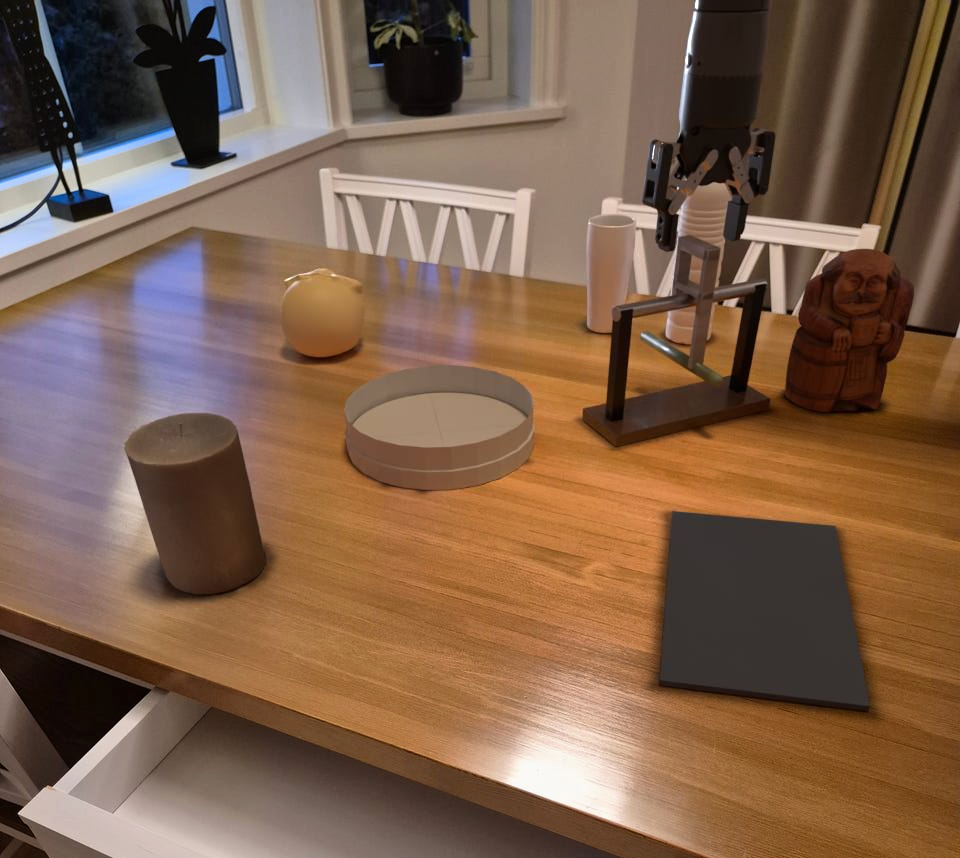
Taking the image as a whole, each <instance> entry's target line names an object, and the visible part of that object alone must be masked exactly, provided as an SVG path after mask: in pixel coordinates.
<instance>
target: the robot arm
mask: <svg viewBox="0 0 960 858" xmlns="http://www.w3.org/2000/svg"><path fill="white" fill-rule="evenodd" d="M772 2H773V0H694V3H693V10H692V16H691V21H690V25H689V31H688V34H687V40H686V47H685V57H684V65H683V73H682V75H683V76H682V83H681V93H680V100H679V108H678V109H679V111H678V121H679V126H680V127H679V128H680V129H679V134H678V136H677V138H676V140H675V141H663V140H660V139H658V138H657V139H653V140H652V141H650V144H649V149H648V156H647V161H646V169H645V177H644V184H643V191H642V198H641V202H642V204H643V205H645V206H647V207H650V208H652V209H655V210H656V211H657V217H656V229H655V237H654V241H655V244H657V246H658V249H660V250H661V251H664V252H665V253H669V252H674V251H675V250H676V244H677V236H678V228H679V219H680V213H679V214H678V212H679V210H681V206H682V204H683V202H684V201H685V199H686V198H687V197H688V196H690V195H692V194H693V193H694V191H695V190H696V188H697V186H698V185H699V186H706V185H709V184H711V183H713V182H715V183H719V184H721V183H724V184H725V185H726V187H727V189H728V192H729V194H730V196H731V198H732V200H731V201H728V205H727V211H726V218H725V224H724V231H723V236H724V238H725V240H728V241H730V242H738V241H740V240H741V237H742V235H743V234H744V232H745V229H746V223H747V217H748V211H749V206H750V203H752V201H753V200H754V198H756V197H758V196H764V195H767V193H768V190H769V186H770V180H771V172H772V165H773V157H774V151H775V143H776V133H775V131H770V130H769V129H765V128H759V127H755V128H753V130H752V131H751V125H752V124H753V123H754V122H755V121H756V118H757V112H758V106H759V100H760V94H761V88H762V83H763V82H762V81H763V75H764V71H765V63H766V57H767V50H768V45H769V35H770V21H771V20H770V17H771V8H772ZM747 153H748V156H747V165H746V166H745V164H744V161H743V159H744V157H745V155H746V154H747ZM675 158H676V159H677V161H678V162H677V163H676V159H675ZM675 163H676V165H675ZM672 165H675V167H674V168H673V170H672V171H671V167H672ZM684 177H685V180H683V179H684ZM686 179H687V180H686Z"/></svg>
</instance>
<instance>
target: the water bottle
mask: <svg viewBox="0 0 960 858" xmlns="http://www.w3.org/2000/svg"><path fill="white" fill-rule="evenodd" d="M685 180H687V179H686V178H685ZM728 201H732V198H731V196H730V194H729V192H728V189H727V187H726V185H725V184H724V183H721V184H719V183H715V182H713V183H711V184H709V185H706V186H699V185H698V186H697V188H696V190H695V191H694V193H693V194H692V195H690V196H688V197H687V198H686V199H685V201H684V202H683V204H682V206H681V207H680V212H679V218H678V230H677V236H676V244H675V250H674V251H675V252H674V263H673V266H672V267H673V269H672V279H671V286H670V293H669V296H672V288H673V279H674V271H675V263H676V255H677V245H678V237H682V236H688V235H691V236H694V237H696V238H698V239H701V240H703V241H705V242H708V243H710V244H712V245H714V246H717V247H719V248H721V251H720V257H719V263H718V269H717V276H716V282H715V287H719V285H720V280H719V279H720V277H721V272H722V262H723V260H724V251H725V243H726V239H725V238H724V236H723V231H724V224H725V218H726V211H727V205H728ZM702 262H703V260H702V259H700V258H697V257H695V256H693V255H692V258H691V265H690V273H689V280H690V281H692V282H694V283H696V284H698V285H699V283H700V276H701V269H702ZM716 304H717V302H715V303H712V309H711V315H710V322H709V328H708V335H707V341H706V342H708V341H709V340H710V339H711V337H712V330H713V324H714V322H713V320H714V318H715V310H716V306H715V305H716ZM695 312H696V306H694V307H689V308H684V309H679V310H673V311H668V312H667V318H666V319H667V320H666V326H665V337H666V338H667V339H668V340H669V341H672V342H674V343H677V344H684V345H691V340H692V333H693V326H694V319H695Z"/></svg>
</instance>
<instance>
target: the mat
mask: <svg viewBox="0 0 960 858" xmlns="http://www.w3.org/2000/svg"><path fill="white" fill-rule="evenodd" d="M669 532H670V533H669V545H668V546H669V547H668V557H667V558H668V559H667V570H666V571H667V572H666V586H665V599H664V613H663V615H664V616H663V624H662V625H663V627H662V640H661V651H660V652H661V654H660V666H659V667H660V668H659V679H658V685H659V686H662V687H668V688H669V687H670V688H678V689H685V690H694V691H701V692H702V691H703V692H709V693H719V694H726V695H734V696H741V697H742V696H743V697H751V698H756V699H757V698H758V699H766V700H773V701H782V702H790V703H797V704H805V705H813V706H824V707H829V708H839V709H846V710H854V711H862V712H869V711H870V708H871V702H870V697H869V692H868V687H867V682H866V677H865V672H864V668H863V661H862V656H861V650H860V646H859V641H858V636H857V630H856V625H855V620H854V614H853V609H852V604H851V599H850V594H849V588H848V583H847V578H846V573H845V567H844V562H843V557H842V552H841V547H840V542H839V537H838V531H837V527H836V525H832V524H820V523H819V524H818V523H809V522H797V521H789V520H788V521H785V520H775V519H765V518H754V517H743V516H731V515H721V514H708V513H701V512H699V513H698V512H687V511H675V510H672V511H671V518H670V531H669Z"/></svg>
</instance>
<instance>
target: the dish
mask: <svg viewBox="0 0 960 858" xmlns="http://www.w3.org/2000/svg"><path fill="white" fill-rule="evenodd" d="M343 415H344V421H345V432H344V435H345V441H346V449H347V454H348V456H349V458H350V461H351V463H352V464H353V465H354V466H355V467H356V468H357V469H358V470H359V471H360V472H361V473H362V474H364V475H366V476H368V477H370V478H372V479H373V480H375V481H378V482H380V483H384V484H387V485H391V486H394V487H397V488H403V489H412V490H422V491H446V490H447V491H449V490H458V489H463V488H464V489H465V488H471V487H475V486H480V485H483V484H486V483H489V482H493V481H496V480H499V479H502V478H504V477H505V476H507V475H509V474H511V473H513V472H514V471H516V470H518V469H519V468H521V466H523V464H524V463H525V462H526V461H527V460H528V459H529V458H530V457H531V454H532V452H533V449H534V446H535V429H536V426H535V420H534V400H533V394H532V393H531V392H530V390H528V389H527V387H526V386H525V385H524V384H522V383H521V382H520V381H518V380H516V379H515V378H513V377H511V376H510V375H509V376H508V375H505V374H503V373H500V372H497V371H494V370H491V369H487V368H481V367H476V366H467V365H454V364H453V365H451V364H449V365H447V364H445V365H444V364H443V365H426V366H417V367H411V368H406V369H400V370H397V371H393V372H388V373H386V374H383V375H380V376H378V377H375V378H373V379H370V380H368V381H367V382H365V383H364V384H361V386H358V387H357V388H356V389H354V390H353V391H352V393H351V394H350V395H349V396H348V397H347V398H346V400H345V405H344V409H343Z"/></svg>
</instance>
